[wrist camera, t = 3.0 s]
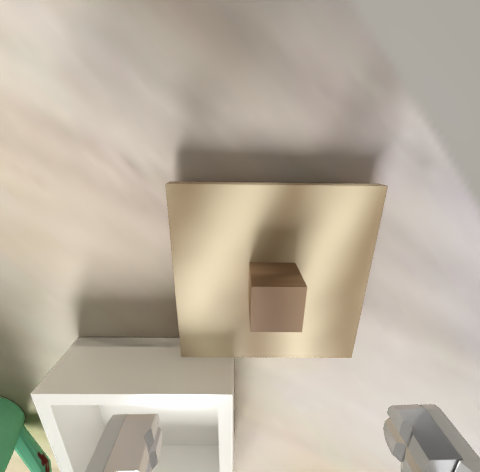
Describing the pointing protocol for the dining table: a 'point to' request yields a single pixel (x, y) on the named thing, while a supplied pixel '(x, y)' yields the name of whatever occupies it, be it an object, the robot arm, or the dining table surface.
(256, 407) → the dining table surface
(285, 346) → the lid
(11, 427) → the mug
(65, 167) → the dining table surface
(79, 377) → the dish
